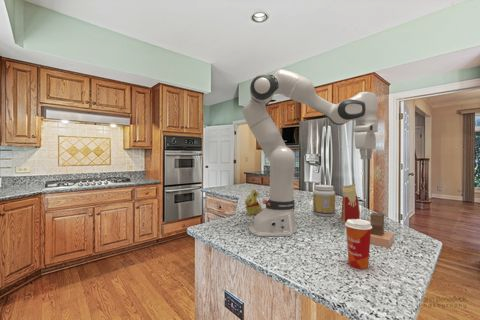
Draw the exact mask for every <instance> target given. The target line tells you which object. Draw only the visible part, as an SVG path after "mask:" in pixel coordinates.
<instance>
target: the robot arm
mask: <svg viewBox="0 0 480 320" xmlns="http://www.w3.org/2000/svg"><path fill="white" fill-rule="evenodd" d="M249 90H250V91H249V93H250V98H251V99H250V101H248V102H247V103H245V104H244V106H243V108H242V115H243V118H244V120H245V122H246V124H247V126H248V128H249V130H250V131H251V133H252V135H253V136H254V138H255V140H256V141H257V143H258V145H259V147H260V148H261V151H263V153H264V155H265V157H266V159H267V161H268V162H269V199H268V200H266V199H263V200H262V204H263V205H265V208H263V209H262V211H261V212H260V213H258V214H256V215H254V219H253V224H250V225H249V226H248V231H249V232H250V233H251V234H252V235H253V236H257V237H292V236H293V234H294V233H296V232H297V231H298V228H297V225H296V219H295V206H296V205H295V200H294V180H295V167H296V154H295V152H294V151H293V150H292V149H291V148H290V147H287V145H286V143H285V141H284V139H283V137H282V135H281V133H280V131H279V129H278V127H277V126H276V124H275V122H274V121H273V118H272V117H271V116H270V114H269V112H268V110H267V106H268V105H269V104H270V102H271V101H272V99H273V97H274V96H275V95H283V96H284V97H286V98H289V99H290V100H292V101H295V102H297V103H300V104H303V105H304V106H308V107H309V108H311V109H313V110H315V111H317V112H318V113H320V114H322V115H324V116H325V117H326V118H328V120H329V121H330V122H331V123H332V124H334V125H336V126H342V125H344V124H347V123H348V122H352V121H355V125H354V126H353V129H352V130H353V132H354V146H355V148H356V149H357V150H359V155H360V160H366V159H367V160H371V159H372V156H373V153H374V152H373V150H376V148H377V137H376V133H378V131H379V129H378V128H379V120H378V114H379V113H378V112H379V102H378V97H377V94H376V93H374V92H373V91H360V92H358V93H357V94H356V95H353V96H351V97H350V98H347V99H345V100H342V101H340V102H339V103H332V102H330V101H328V100H326V99H324V98H322V97H321V96H319V95H318V93H317V92H316V90H315V86H314V83H313V82H312V81H311V80H309V79H308V78H307V77H305V76H303V75H300V74H299V73H296V72H294V71H290V70H286V69H284V68H282V69H281V68H280V69H277V70H276V71H275V72H274V73H273V74H267V75H266V74H259V75H257V76H255V77H254V78H253V79H252V81H251V83H250V85H249Z"/></svg>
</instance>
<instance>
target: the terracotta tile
mask: <svg viewBox="0 0 480 320" xmlns="http://www.w3.org/2000/svg"><path fill="white" fill-rule="evenodd" d="M394 242H395V233H393V232H389V231H384V234H383V235H382V236H378V235H373V234H371V236H370V245H374V246H378V247H384V248H388V249H390V247H391V246H392V245H393V243H394Z"/></svg>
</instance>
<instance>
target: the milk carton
mask: <svg viewBox="0 0 480 320" xmlns="http://www.w3.org/2000/svg"><path fill="white" fill-rule="evenodd" d="M340 187H341V189H342V190H343V191H342V199H341V201H342V202H341V215H340V222H341V223H343V224H346V222H347V220H348V219H350V220H351V219H355V220H356V219H361V209H360V208H361V207H360V201H359V197H358V195H357V190H356V183H353V184H349V185H341V186H340Z"/></svg>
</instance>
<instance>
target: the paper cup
mask: <svg viewBox="0 0 480 320" xmlns="http://www.w3.org/2000/svg"><path fill="white" fill-rule="evenodd" d="M344 225H345V226H346V228H345V229H346V243H347V259H348V265H349V266H350V267H352V268H354V269H358V270H365V269H368V268H369V262H370V247H371V244H370V236H371V229H372V226H371V223H370V221H369V220H365V219H361V218H360V219H356V220H355V219H351V220H350V219H348V220H347V222H346V223H344Z"/></svg>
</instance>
